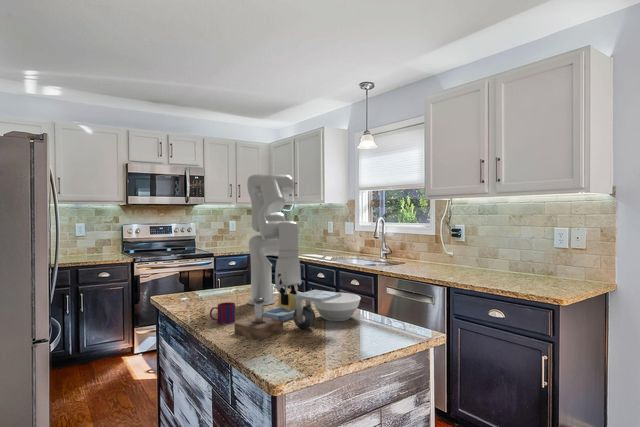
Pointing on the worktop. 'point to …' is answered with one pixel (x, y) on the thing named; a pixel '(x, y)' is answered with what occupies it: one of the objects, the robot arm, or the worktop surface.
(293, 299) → the block
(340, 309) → the bowl
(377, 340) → the worktop surface
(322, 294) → the caster wheel
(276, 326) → the socket block
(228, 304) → the mug
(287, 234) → the robot arm
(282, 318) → the tray
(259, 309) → the pin
